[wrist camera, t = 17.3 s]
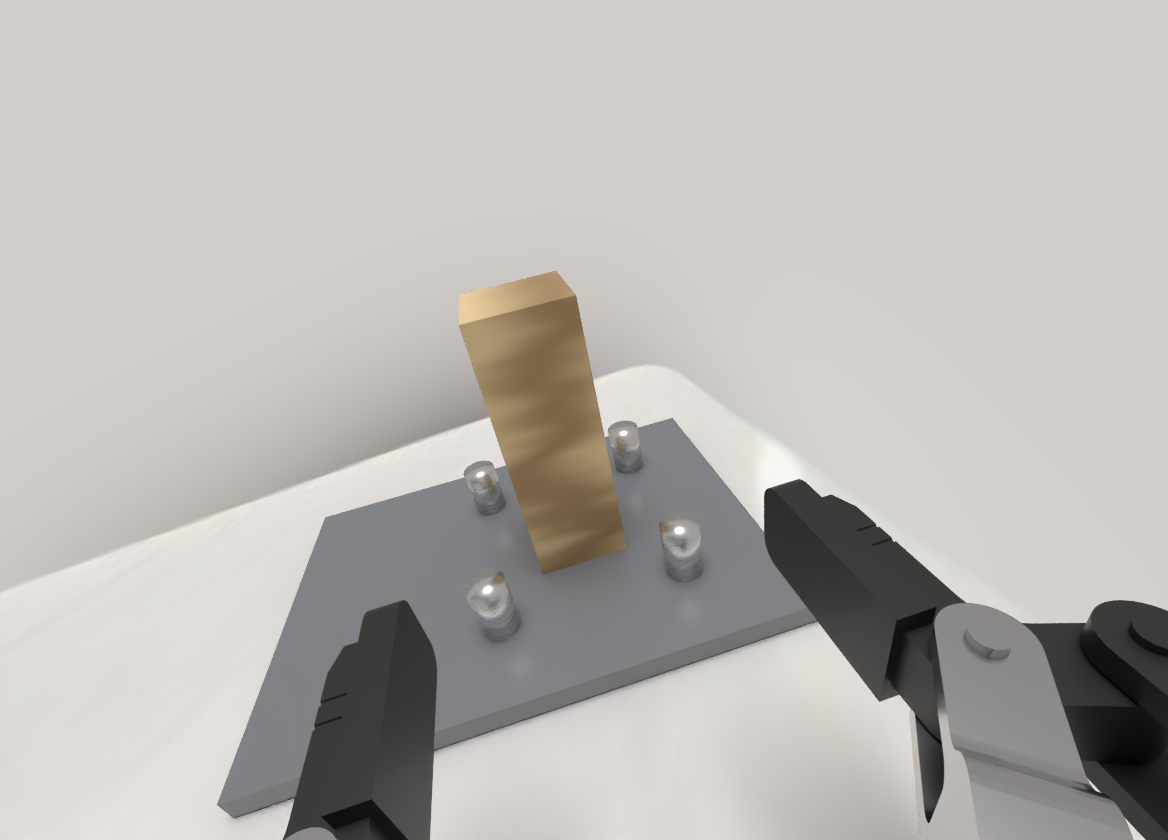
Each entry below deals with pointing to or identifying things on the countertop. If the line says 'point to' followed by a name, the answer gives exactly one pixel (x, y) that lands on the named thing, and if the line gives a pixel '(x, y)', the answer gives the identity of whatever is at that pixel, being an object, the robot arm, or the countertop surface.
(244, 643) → the countertop surface
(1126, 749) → the robot arm
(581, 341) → the oak block
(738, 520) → the plate
